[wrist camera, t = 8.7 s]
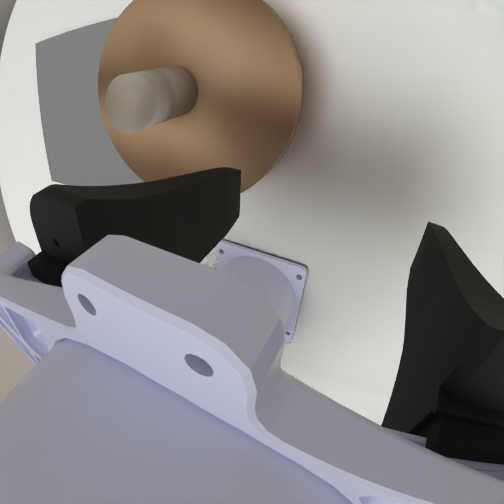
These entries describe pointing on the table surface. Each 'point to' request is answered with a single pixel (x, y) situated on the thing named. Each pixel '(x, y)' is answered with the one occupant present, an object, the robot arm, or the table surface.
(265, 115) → the lid
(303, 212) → the table surface
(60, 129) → the mat
